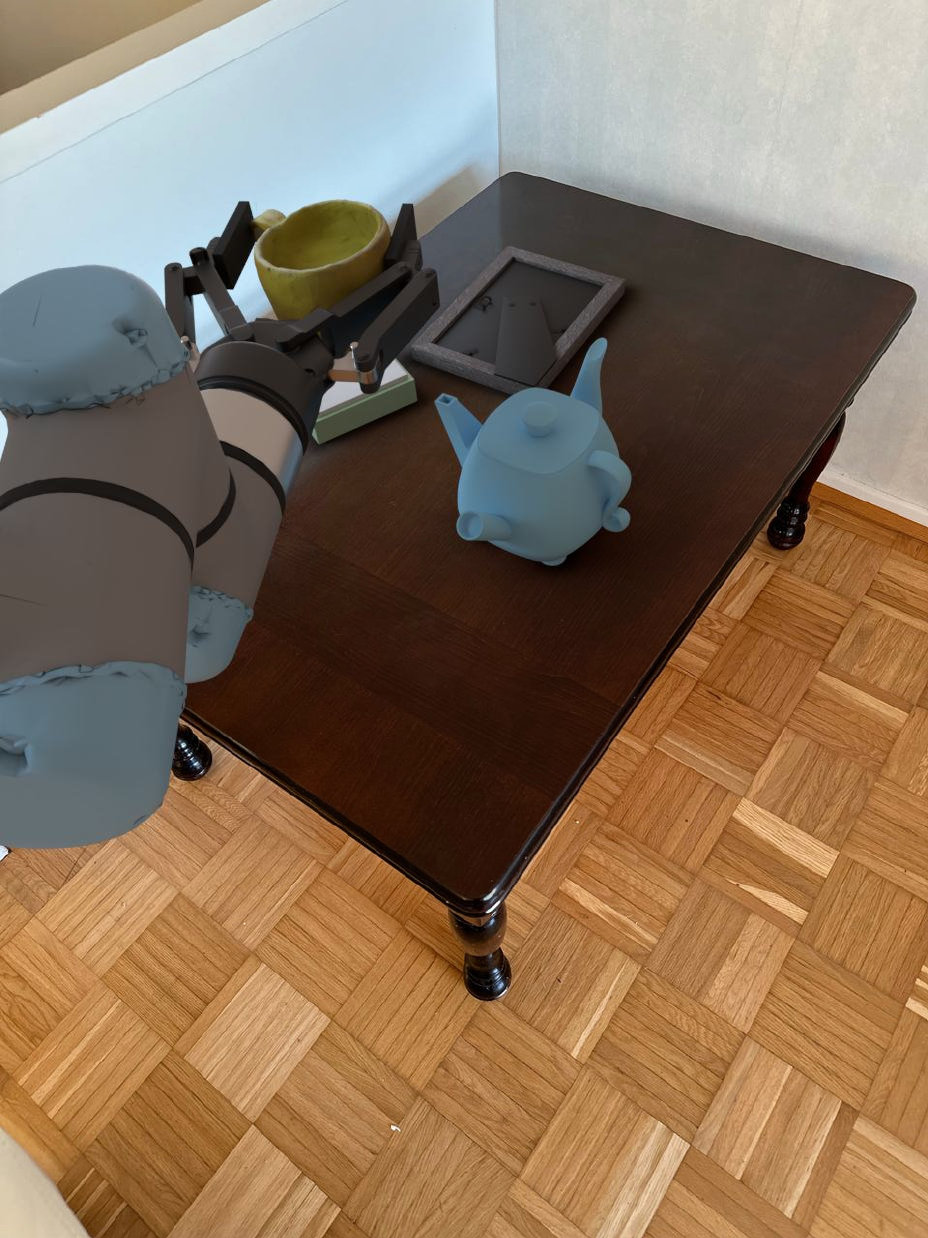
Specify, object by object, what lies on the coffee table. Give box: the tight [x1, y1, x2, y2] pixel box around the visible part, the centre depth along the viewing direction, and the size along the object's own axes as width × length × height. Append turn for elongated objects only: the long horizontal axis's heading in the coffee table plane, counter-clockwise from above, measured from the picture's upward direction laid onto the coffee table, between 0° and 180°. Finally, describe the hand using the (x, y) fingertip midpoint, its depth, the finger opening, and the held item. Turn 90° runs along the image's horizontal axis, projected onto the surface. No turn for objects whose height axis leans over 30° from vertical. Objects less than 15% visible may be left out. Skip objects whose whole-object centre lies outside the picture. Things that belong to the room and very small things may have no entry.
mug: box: [250, 199, 392, 356], centre depth 64 cm, size 12×10×10 cm
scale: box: [311, 357, 418, 445], centre depth 82 cm, size 10×8×3 cm
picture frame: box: [410, 245, 626, 396], centre depth 87 cm, size 13×2×18 cm
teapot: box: [433, 337, 632, 567], centre depth 69 cm, size 15×14×11 cm
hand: (328, 219), depth 65 cm, fingers closed on mug, 11 cm apart
